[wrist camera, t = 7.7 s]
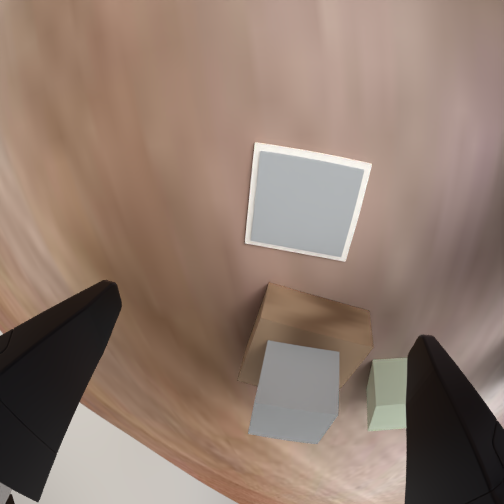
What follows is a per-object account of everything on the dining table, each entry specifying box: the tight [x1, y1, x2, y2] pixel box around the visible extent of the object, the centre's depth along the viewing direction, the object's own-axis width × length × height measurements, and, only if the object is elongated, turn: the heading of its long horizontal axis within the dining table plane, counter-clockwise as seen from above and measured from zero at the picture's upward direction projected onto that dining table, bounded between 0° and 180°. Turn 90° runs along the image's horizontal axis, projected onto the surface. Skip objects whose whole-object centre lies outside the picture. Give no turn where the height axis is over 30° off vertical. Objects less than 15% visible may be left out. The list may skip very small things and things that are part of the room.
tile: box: [245, 142, 372, 261], centre depth 19 cm, size 7×7×1 cm
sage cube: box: [366, 357, 408, 431], centre depth 24 cm, size 5×5×5 cm
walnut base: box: [237, 282, 374, 389], centre depth 24 cm, size 8×8×4 cm
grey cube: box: [248, 340, 339, 444], centre depth 20 cm, size 5×5×5 cm
